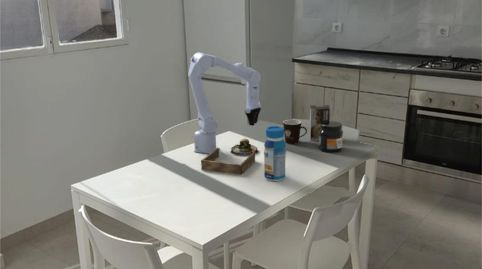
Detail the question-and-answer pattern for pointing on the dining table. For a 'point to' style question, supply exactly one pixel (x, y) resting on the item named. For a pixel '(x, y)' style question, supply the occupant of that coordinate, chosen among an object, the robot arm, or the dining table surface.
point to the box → (225, 164)
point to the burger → (244, 147)
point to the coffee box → (318, 119)
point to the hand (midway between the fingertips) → (253, 124)
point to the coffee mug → (292, 131)
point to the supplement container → (330, 136)
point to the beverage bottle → (274, 154)
